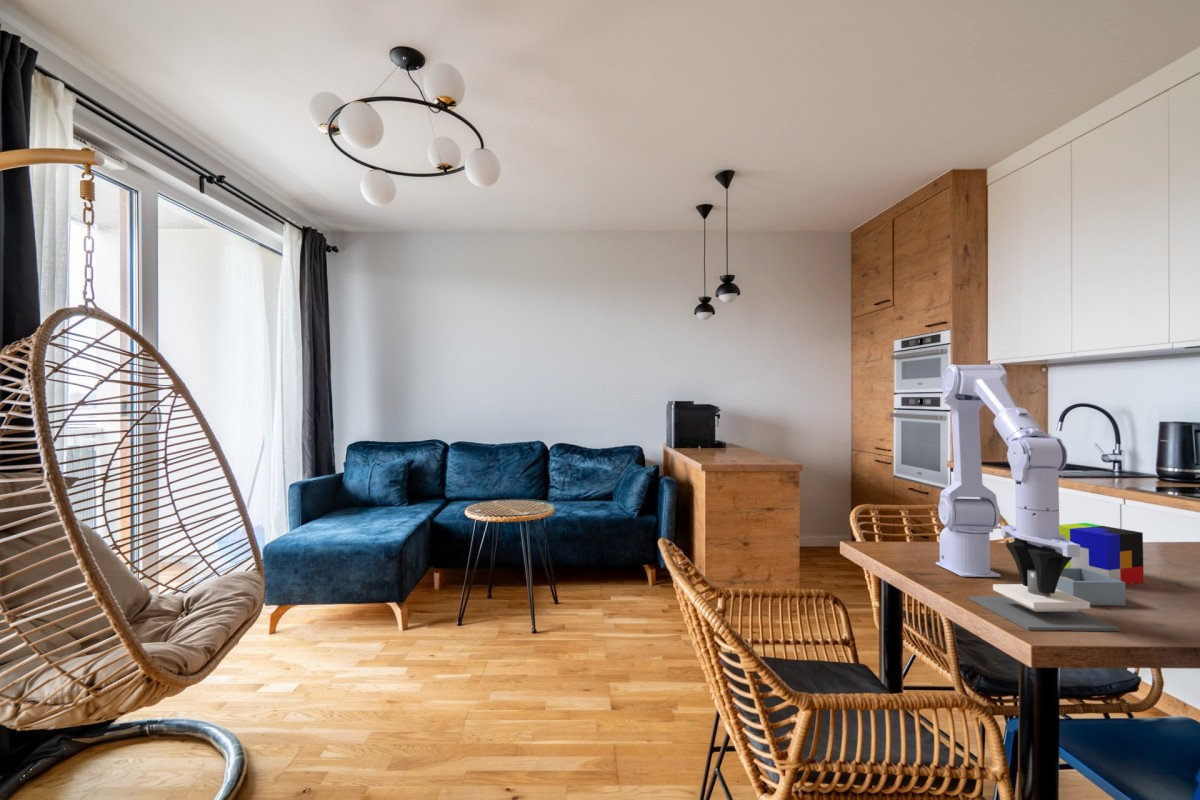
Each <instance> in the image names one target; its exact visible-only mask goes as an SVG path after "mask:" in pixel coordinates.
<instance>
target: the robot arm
mask: <svg viewBox="0 0 1200 800" xmlns="http://www.w3.org/2000/svg"><path fill="white" fill-rule="evenodd" d="M941 379H942V380H941V381H942V398H943V403H944V404H946V405H948V406H950V411H951V412H950V413H951V430H952V431H951V432H952V433H951V434H952V449H953V450H952V451H953V452H952V453H953V458H952V459H953V475H954V482H953V483H951V484H949V485H948V486H946V487H945V488H944V489H942V490H941V491H940V493H939V503H938V507H937V508H938V511H937V512H938V518H939V520H940V522H941V524H942V525H943V526H944V528H943V529H942V530H941V531H940V533H939V561H935V565H937V566H939V567H941V568H943V569H945V570H948V571H949V572H952V573H953V574H957V575H958V576H960V577H966V578H967V577H969V578H970V577H971V578H974V577H975V578H981V577H982V578H1001V574H1000V573H998V572H995V571H993V570H991V554H990V553H991V550H990V547H991V545H990V542H991V541H990V533H993V532H994V530H995V529H997V527H998V525H999V524H1000V522H1001V511H1000V508H999V504H998V500H997V494H996V493H995V492H994V491H992V490H991V489H989V488H988V487H987V486H985V485H984V484H983V470H982V469H983V468H982V467H983V466H982V464H983V463H982V447H981V428H980V427H981V426H980V410H981V409H982V407H983V406H985V405H986V407H987V408H988V409H989V410H990V411H991V412H992V413H993V414H994V415H995V418H993V426H994V427H995V429H996V430H997V432H998V434H999V435H1000V437H1001V438H1002V440H1003V441H1004V442H1005V444H1006V446H1007V452H1006V457H1007V461H1008V464H1009V466H1010V470H1011V476H1010V477H1011V479H1013V480H1015V483H1014V484H1015V525H1009V524H1008V525H1005V524H1004V525H1002V524H1001V525H1000V536H1001V537H1003V538H1010V539H1014V540H1013V541H1012V542H1005V547H1006V548H1007V550H1008V551H1009V553H1010V555H1011V557H1012V559H1013V560H1014V562H1015V564H1016V567H1017V571H1018V573H1019V577H1020V581H1021V584H1023V585H1024V586H1028V575H1027V570H1029V569H1035V570H1036V577H1037V586H1038V590H1039V592H1040V593H1055V590H1056V587H1057V584H1058V581H1059V578H1060V575H1061V573H1062V571H1063V569H1064V568H1065V566H1066V565H1067V563H1068V562H1069V561H1070V560H1071V559H1072V557H1080V545H1079V544H1075V543H1073V542H1071V541H1069V540H1067V539H1065V535H1061V534H1059V525H1060V492H1059V490H1060V484H1059V481H1060V480H1059V478H1060V477H1059V472H1061V471H1062V470H1063V469H1065V467H1066V465H1067V462H1068V451H1067V447H1066V445H1065V443H1064V441H1063V439H1062V438H1060V437H1058V436H1053V435H1052V434H1051V433H1046V432H1045V431H1044V430H1043V429H1042V427H1041V426H1040V425H1039V423H1038V422H1037V420H1035V418H1034V416H1033V415H1032V413H1030V411H1029V410H1027V409H1026V408H1024V407H1019V406H1017V405H1016V403H1015V401H1014V399H1013V398H1012V395H1011V393H1010V392H1009V390H1008V388H1007V385H1008V372H1007V371H1006V369H1005V368H1004V366H1003V365H1002V364H1000V363H993V364H953V363H952V364H949V365H948V366H947V367H946V369H945V370H944V372H943V374H942V378H941Z"/></svg>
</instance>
